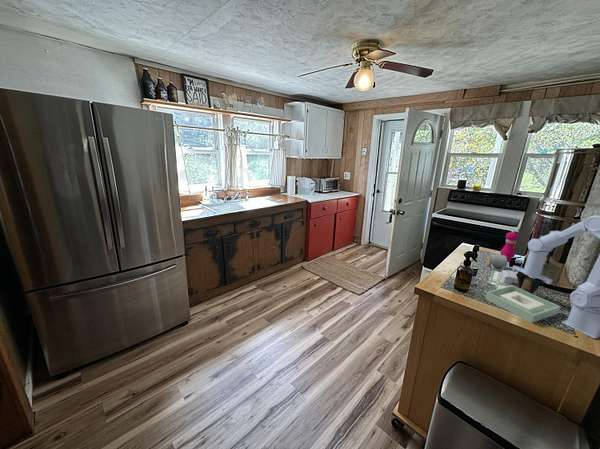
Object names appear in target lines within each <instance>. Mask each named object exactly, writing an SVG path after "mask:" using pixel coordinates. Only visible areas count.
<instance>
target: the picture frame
mask: <svg viewBox="0 0 600 449" xmlns="http://www.w3.org/2000/svg"><path fill="white" fill-rule="evenodd" d="M514 291H517V292H519V293H521V294H523V295H525V296H528V297H530V298H532V299H534V300H536V301H539V302H541V303H543V304H545V306H544V309H543V311H540V312H537V313H534V314H532V313H530V312H528V311H526V310H524V309H522V308H520V307H517V306H515V305H513V304H511V303H509V302H507V301H505V300H503V299H501V298H499V297H500V295H503V294H507V293H510V292H514ZM484 299H485V300H488V301H489V302H491V303H492V304H495V305H497V306H498V307H500V308H502V309H504V310H506V311H508V312H510V313H511V314H514V315H516V316H517V317H520V318H521V319H523V320H524V321H527V322H529V323H531V324H533V323H535V322H539V321H541V320H545V319H547V318H550V317H553V316H555V315H558V314H559V312H560V309H561V307H562V306H561V305H558V304H556V303H553V302H551V301H549V300H546V299H544V298H542V297H540V296H538V295H535V294H534V293H532V294H531V293H529V292H526V291H524V290H522V289H521V288H519V287H518V286H516V285H508V286H505V287H501V288H497V289H492V290H488V291H486V293H485V296H484Z"/></svg>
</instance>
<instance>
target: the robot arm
mask: <svg viewBox="0 0 600 449" xmlns="http://www.w3.org/2000/svg"><path fill="white" fill-rule="evenodd" d="M588 232H589V233H591V234H592V235H593V236H595V237H596V238H597V239H599V240H600V215H596V214H595V215H591V216H589V217H587V218H583V219H582V220H581V221H579V222H577V223H575V224H574V225H572V226H569V227H568V228H566V229H563V230H561V231H560V230H551V231H549V233H548V234H546V235H542V236H539V238H532V239H530V240H529V241H528V243H527V248H528V250H529V252H528V254H527V259H526V261H525V265H524V267H520V266H517V265H514V266H512V270H511V271H514V272H518V273H517V274H516V276H517V278H518V282H519V286H518V288H519V289H521V287H522V283H523V280H524V278H528V277H529V278H532V279H533V280H532V287H531V290H530V293H532V294H534V293H535V292H536V291H537V289H538V288H539V287H540V286H542V285H543V284H548V285H551V284H552V283H553V279H551V278H549V277H547V276H545V275H543V274H542V270H543V267H544V264H545V261H546V258H547V256H548V255H549V253H550V252H552V251H553V250H554V248H556V247H559V246H561V245H564V244H566V243H567V242H568V241H569V239H571V238H574V237H576V236H579V235H583V234H585V233H588ZM569 298H570V301H571V303H572V306H571V309H570V312H569V315H568V317H567V319H565V320H563V321H561V323H562V324H565V325H566V326H568V327H570V328H573V329H574V330H577V331H579V332H580V333H583V334H585V335H587V336H588V337H589V338H592V339H598V338H600V254H598V257H597V259H596V261H595V262H594V264H593V268H592V269H591V271H590V273H589V274H588V278H587V279H586V281H585V282H583V283H582V284H580V285H578V286H577V288H576V289H575V290H573V291H572V292H571V293H570V296H569Z"/></svg>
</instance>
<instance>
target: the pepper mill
mask: <svg viewBox="0 0 600 449" xmlns="http://www.w3.org/2000/svg"><path fill="white" fill-rule="evenodd" d="M505 238H506V239H505V244H504V246H503V248H501V250H500V252H499V255H505V256H506V257H507V263H511V262H510V260H511V259H513V258H515V255H516V251H515V244H516V243H517V240H518V239H519V234H518V233H517V232H516V230H514V229H512V230H511V231H510V232H507V233H506V234H505Z"/></svg>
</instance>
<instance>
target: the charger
mask: <svg viewBox="0 0 600 449" xmlns="http://www.w3.org/2000/svg"><path fill="white" fill-rule="evenodd" d="M500 272H501V273H500V278H501V280H502V283H503V284H507V285H510V286H512V285H513V286H515V287H519V282H518V278H517V276H516V274H517V273H518V272H517V271H513V270H508V269H507V270H506V269H503V270H502V271H500Z"/></svg>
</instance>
